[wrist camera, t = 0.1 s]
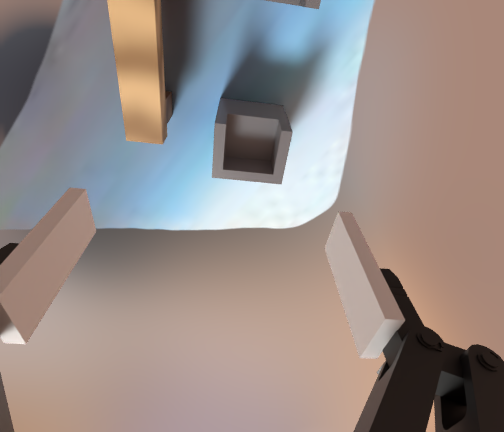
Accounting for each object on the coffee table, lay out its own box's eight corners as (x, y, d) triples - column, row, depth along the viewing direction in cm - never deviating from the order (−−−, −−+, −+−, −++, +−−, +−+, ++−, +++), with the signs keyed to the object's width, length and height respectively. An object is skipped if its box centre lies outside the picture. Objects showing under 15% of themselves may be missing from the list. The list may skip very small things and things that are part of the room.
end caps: (231, -92, 28) (227, -123, 21) (316, -76, 29) (342, -101, 22) (217, 144, 43) (212, 177, 35) (274, 151, 43) (281, 184, 36)
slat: (108, -77, 24) (95, -84, 22) (157, -69, 25) (149, -74, 23) (133, 132, 35) (126, 140, 33) (167, 135, 36) (162, 144, 34)
